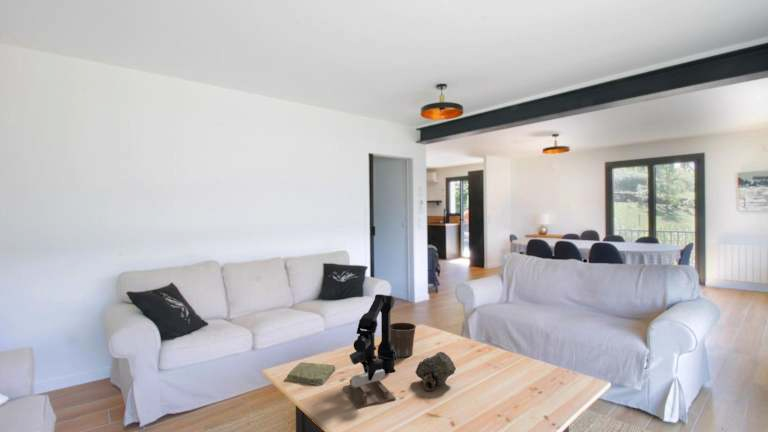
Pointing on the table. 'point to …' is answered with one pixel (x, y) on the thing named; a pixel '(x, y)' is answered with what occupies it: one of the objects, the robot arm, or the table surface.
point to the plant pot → (403, 338)
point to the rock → (435, 370)
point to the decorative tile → (311, 373)
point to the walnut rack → (369, 394)
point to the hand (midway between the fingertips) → (368, 378)
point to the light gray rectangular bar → (364, 379)
